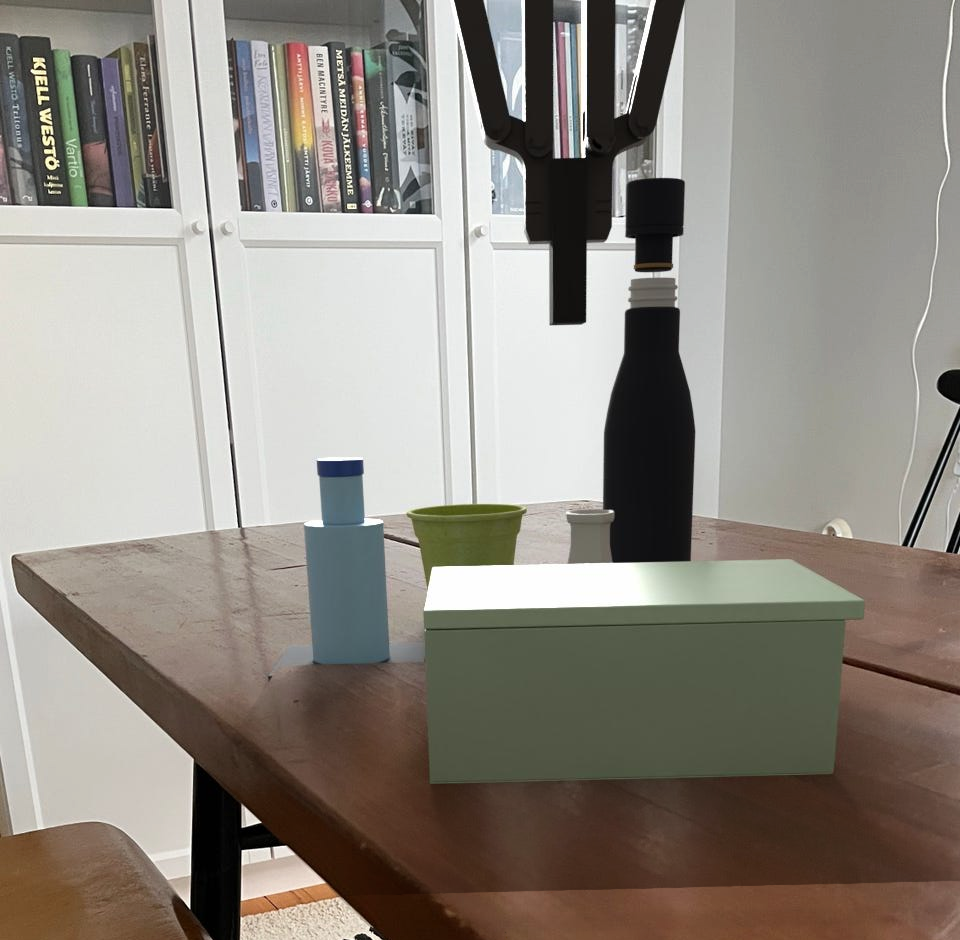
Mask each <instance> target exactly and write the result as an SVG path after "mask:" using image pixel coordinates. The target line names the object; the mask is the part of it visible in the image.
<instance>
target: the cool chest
mask: <svg viewBox="0 0 960 940" xmlns="http://www.w3.org/2000/svg"><path fill="white" fill-rule="evenodd" d="M846 621H847V620H819V621H774V622H730V623H686V624H642V625H597V626H553V627H509V628H464V629H424V630H423V639H424V640H423V642H425V662H424V663H425V665H424V666H425V667H424V668H425V690H426V691H425V693H426V717H427V718H426V719H427V742H428V743H427V744H428V745H427V746H428V768H429V784H435V785H437V784H474V783H475V784H476V783H510V782H511V783H512V782H513V783H514V782H516V783H517V782H518V783H519V782H552V781H553V782H554V781H560V782H561V781H591V780H592V781H594V780H595V781H596V780H597V781H599V780H634V779H635V780H636V779H637V780H639V779H677V778H678V779H679V778H717V777H718V778H719V777H720V778H721V777H722V778H723V777H755V776H756V777H757V776H759V777H760V776H761V777H763V776H798V775H801V776H803V775H805V776H806V775H833V774H834V771H835V763H836V762H835V761H836V749H837V735H838V722H839V709H840V697H841V686H842V685H841V684H842V674H843V673H842V672H843V661H844V659H843V658H844V648H845V647H844V646H845V636H846V635H845V633H846Z"/></svg>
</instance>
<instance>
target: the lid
mask: <svg viewBox="0 0 960 940" xmlns="http://www.w3.org/2000/svg"><path fill="white" fill-rule="evenodd" d="M425 596H426V597H425V602H424V606H423V611H422V613H423V615H422V616H423V629H424V630H425V629H464V628H509V627H553V626H597V625H642V624H686V623H730V622H774V621H819V620H845V621H857V620H859V621H860V620H864V619H865V611H866V610H865V609H866V600H864V599H862V598H861V597H859V596H858V595H855V594H854V593H852V592H850V591H849V590H847V589H845V588H844V587H841V586H839V585H838V584H836V583H834V582H833V581H831V580H829V579H827V578H825V577H824V576H822V575H820V574H818V573H817V572H814V571H813V570H811V569H809V568H807V567H806V566H804V565H802V564H800V563H798V562H797V561H795V560H793V559H792V558H787V559H786V558H781V559H780V558H778V559H776V558H775V559H736V560H735V559H734V560H733V559H731V560H691V561H685V562H641V563H597V564H567V563H559V564H558V563H557V564H554V563H553V564H514V565H508V566H464V567H433V568H432V571H431V576H430V581H429V586H428V590H427V591H426V595H425Z"/></svg>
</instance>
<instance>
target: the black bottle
mask: <svg viewBox="0 0 960 940" xmlns="http://www.w3.org/2000/svg"><path fill="white" fill-rule="evenodd" d="M685 190H686V182H685V180H683V179H681V178H675V177H649V178H639V179H634V180H630V181H628V182H626V185H625V221H624V222H625V225H624V226H625V227H624V229H625V230H624V231H625V232H624V237H625V238H626V239H633V240H634V241H635V242H634V264H633V270H634V272H636V273H664V272H671V271H672V269H673V268H674V263H673V249H674V247H673V244H674V242H673V241H674V238H678V237H682V236H684V225H685V222H684V221H685V194H686V191H685ZM676 280H677V279H676V277H640V278H639V277H638V278H633V279H630V285H629V287H628V288H627V290H628V292H630V297H628V298H627V301H628V303H629V308H627V309H626V310H625V311H624V325H623V326H624V328H623V355H622V358H621V360H620V364H619V367H618V370H617V372H616V376H615V380H614V382H613V386H612V388H611V392H610V397H609V401H608V406H607V411H606V417H605V422H604V428H603V462H602V465H603V466H602V467H603V468H602V469H603V471H602V472H603V473H602V475H603V476H602V510H613V511H614V520H613V522H611V523H610V550H611V557H612V563H641V562H685V561H692V536H693V513H694V512H693V511H694V510H693V509H694V485H695V483H694V482H695V456H696V423H695V414H694V408H693V402H692V395H691V390H690V387H689V383H688V379H687V375H686V372H685V368H684V365H683V362H682V358H681V355H680V329H681V328H680V325H681V321H680V320H681V309H680V308H679V307H677V306H676V304H675V303H676V301H677V300H678V296H677V295H676V290H677V289H679V288H678V287H679V286H678V285H677V284H676Z"/></svg>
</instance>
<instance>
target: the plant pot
mask: <svg viewBox="0 0 960 940" xmlns="http://www.w3.org/2000/svg"><path fill="white" fill-rule="evenodd" d="M527 512H528V507H526V506H524V505H519V504H510V503H509V504H508V503H457V504H443V505H433V506H424V507H418V508H414V509H413V508H412V509H409V510H407V511H406V517H407V518H408V519H410V520H411V523H412V527H413V532H414V535H415V537H416V538H417V540H418V546H419V551H420V557H421V561H422V562H421V563H422V567H423V574H424V579H425V584H426V590H427V591H428V586H429V581H430V576H431V571H432V568H433V567H464V566H508V565H515V556H516V547H517V539H518V535H519V534H520V532H521V528H522V527H521V526H522V520H523V515H525V514H527Z"/></svg>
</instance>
